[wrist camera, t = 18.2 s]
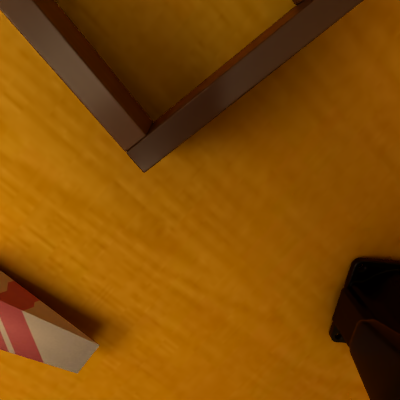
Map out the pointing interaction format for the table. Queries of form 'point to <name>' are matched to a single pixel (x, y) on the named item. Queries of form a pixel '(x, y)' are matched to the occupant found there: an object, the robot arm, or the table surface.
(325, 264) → the table surface
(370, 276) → the robot arm
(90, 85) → the rectangular frame
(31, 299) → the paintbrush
